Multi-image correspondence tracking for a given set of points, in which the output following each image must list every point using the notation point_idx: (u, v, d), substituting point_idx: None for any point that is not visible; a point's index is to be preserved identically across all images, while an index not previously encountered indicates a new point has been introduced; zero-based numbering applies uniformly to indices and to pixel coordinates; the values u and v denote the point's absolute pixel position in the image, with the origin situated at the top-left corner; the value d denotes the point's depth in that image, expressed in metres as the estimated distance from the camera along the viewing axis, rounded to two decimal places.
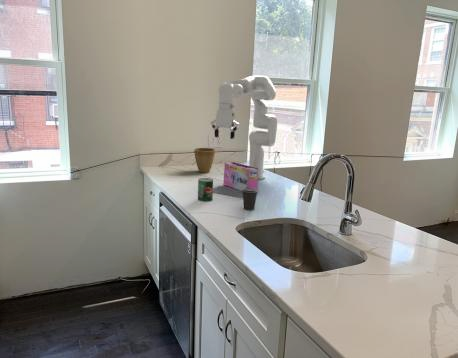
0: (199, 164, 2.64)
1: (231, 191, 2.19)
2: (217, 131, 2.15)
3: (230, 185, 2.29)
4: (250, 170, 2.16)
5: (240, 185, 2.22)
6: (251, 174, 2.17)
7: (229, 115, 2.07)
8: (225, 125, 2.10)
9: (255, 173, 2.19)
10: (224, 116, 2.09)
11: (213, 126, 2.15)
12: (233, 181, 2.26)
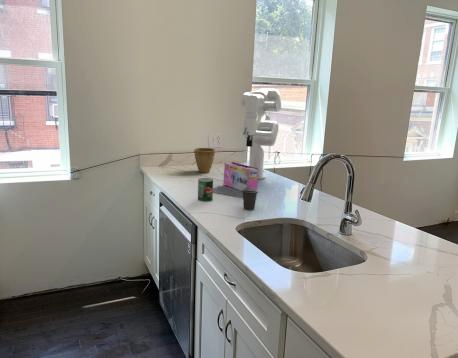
0: (199, 164, 2.64)
1: (231, 191, 2.19)
2: None
3: (230, 185, 2.29)
4: (250, 170, 2.16)
5: (240, 185, 2.22)
6: (251, 174, 2.17)
7: (256, 123, 2.31)
8: (254, 132, 2.30)
9: (255, 173, 2.19)
10: (254, 124, 2.28)
11: (249, 137, 2.28)
12: (233, 181, 2.26)
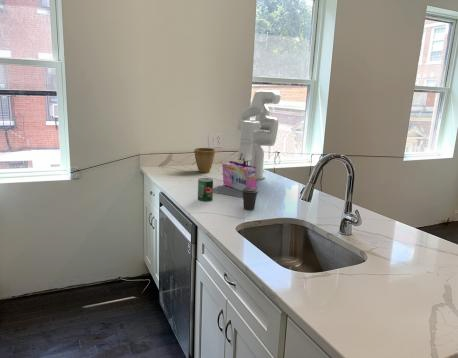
0: (199, 164, 2.64)
1: (231, 191, 2.19)
2: None
3: (230, 185, 2.29)
4: (248, 170, 2.15)
5: (239, 185, 2.22)
6: (249, 174, 2.16)
7: (252, 148, 2.31)
8: (249, 158, 2.30)
9: (253, 172, 2.18)
10: (250, 150, 2.28)
11: (244, 163, 2.28)
12: (233, 181, 2.26)
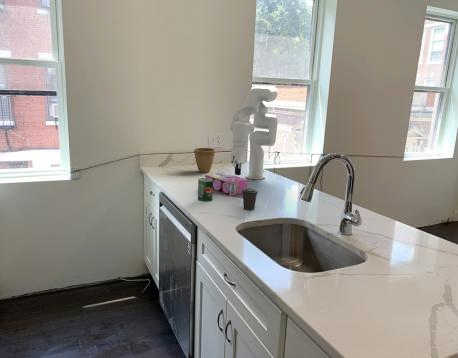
0: (199, 164, 2.64)
1: None
2: None
3: None
4: (230, 193, 2.10)
5: None
6: (233, 191, 2.11)
7: None
8: (242, 160, 2.22)
9: (233, 186, 2.10)
10: (242, 152, 2.21)
11: (237, 165, 2.20)
12: None
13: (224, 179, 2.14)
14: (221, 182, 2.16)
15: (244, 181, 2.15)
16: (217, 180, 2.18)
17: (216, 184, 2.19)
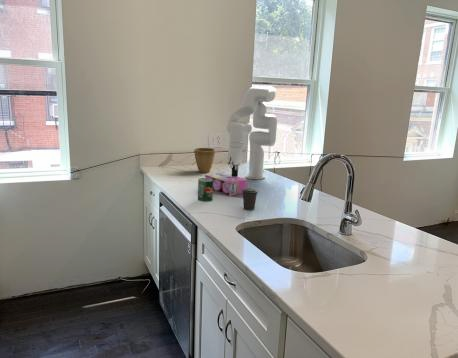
0: (199, 164, 2.64)
1: None
2: None
3: None
4: (230, 193, 2.10)
5: None
6: (233, 191, 2.11)
7: None
8: (239, 162, 2.19)
9: (233, 186, 2.10)
10: (239, 154, 2.18)
11: (234, 167, 2.17)
12: None
13: (224, 179, 2.14)
14: (221, 182, 2.16)
15: (244, 181, 2.15)
16: (217, 180, 2.18)
17: (216, 184, 2.19)
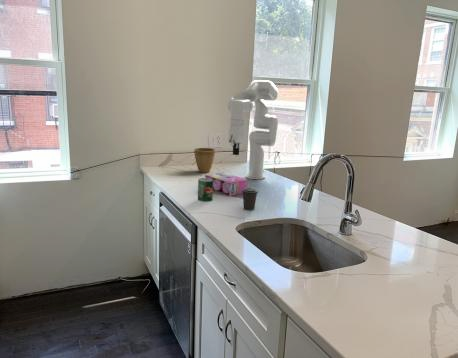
0: (199, 164, 2.64)
1: None
2: None
3: None
4: (230, 193, 2.10)
5: None
6: (233, 191, 2.11)
7: None
8: (241, 140, 2.17)
9: (233, 186, 2.10)
10: (240, 132, 2.15)
11: (235, 145, 2.15)
12: None
13: (224, 179, 2.14)
14: (221, 182, 2.16)
15: (244, 181, 2.15)
16: (217, 180, 2.18)
17: (216, 184, 2.19)
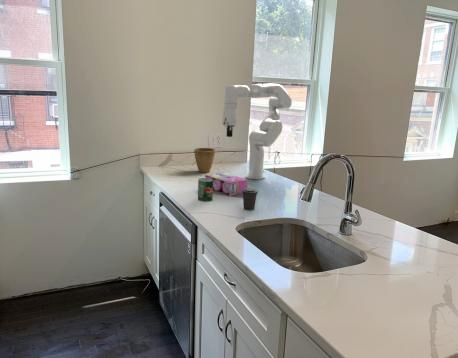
0: (199, 164, 2.64)
1: None
2: None
3: None
4: (230, 193, 2.10)
5: None
6: (233, 191, 2.11)
7: (236, 113, 2.34)
8: (234, 123, 2.34)
9: (233, 186, 2.10)
10: (234, 115, 2.32)
11: (229, 127, 2.31)
12: None
13: (224, 179, 2.14)
14: (221, 182, 2.16)
15: (244, 181, 2.15)
16: (217, 180, 2.18)
17: (216, 184, 2.19)
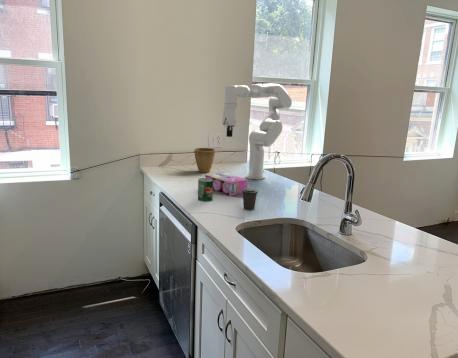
0: (199, 164, 2.64)
1: None
2: None
3: None
4: (230, 193, 2.10)
5: None
6: (233, 191, 2.11)
7: (236, 113, 2.34)
8: (234, 123, 2.34)
9: (233, 186, 2.10)
10: (234, 115, 2.32)
11: (229, 127, 2.31)
12: None
13: (224, 179, 2.14)
14: (221, 182, 2.16)
15: (244, 181, 2.15)
16: (217, 180, 2.18)
17: (216, 184, 2.19)
